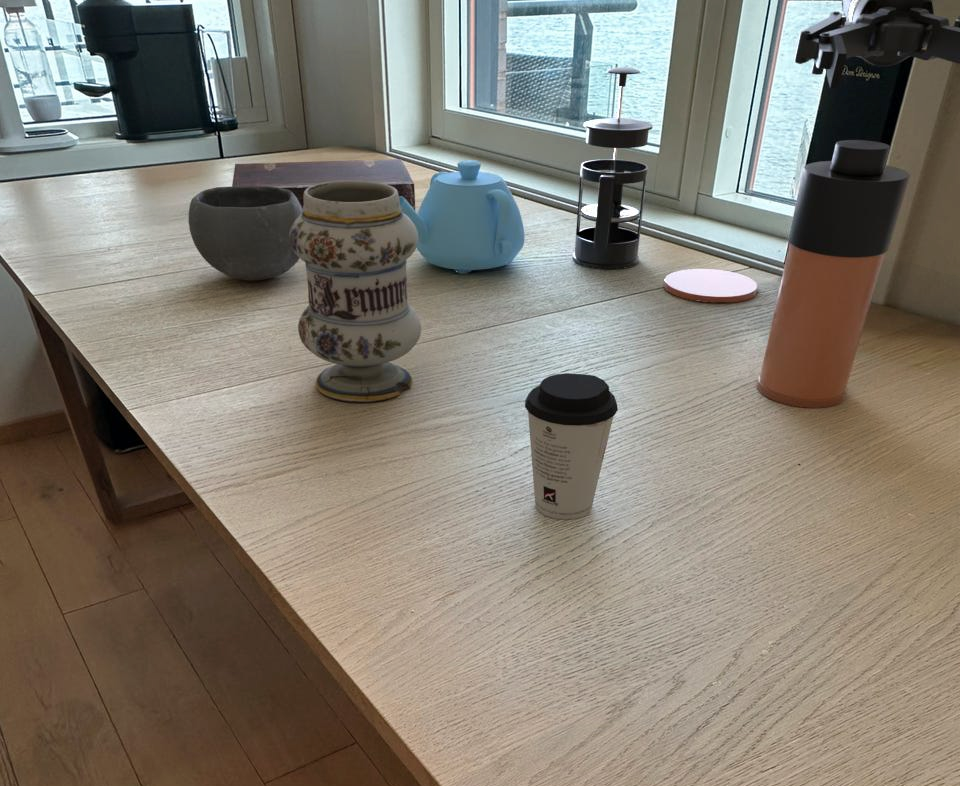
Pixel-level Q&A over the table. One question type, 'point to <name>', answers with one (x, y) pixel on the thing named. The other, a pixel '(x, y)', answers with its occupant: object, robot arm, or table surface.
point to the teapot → (467, 220)
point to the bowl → (245, 230)
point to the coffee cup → (568, 441)
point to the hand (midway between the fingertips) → (916, 73)
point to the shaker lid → (849, 202)
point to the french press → (611, 190)
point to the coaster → (710, 285)
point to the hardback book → (325, 175)
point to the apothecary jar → (357, 287)
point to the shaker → (817, 327)
